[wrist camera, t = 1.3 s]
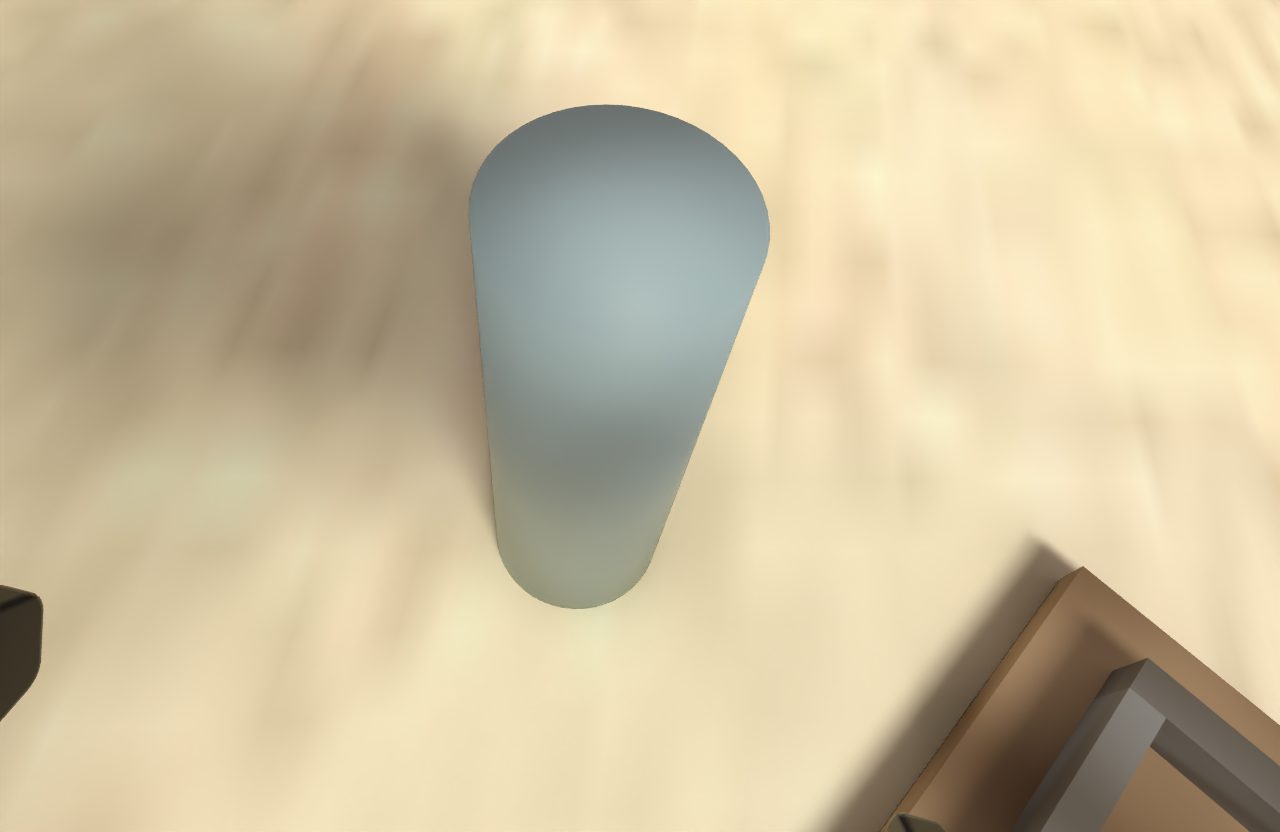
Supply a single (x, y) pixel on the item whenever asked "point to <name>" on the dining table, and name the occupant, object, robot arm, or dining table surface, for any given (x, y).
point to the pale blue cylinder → (603, 332)
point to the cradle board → (1102, 734)
